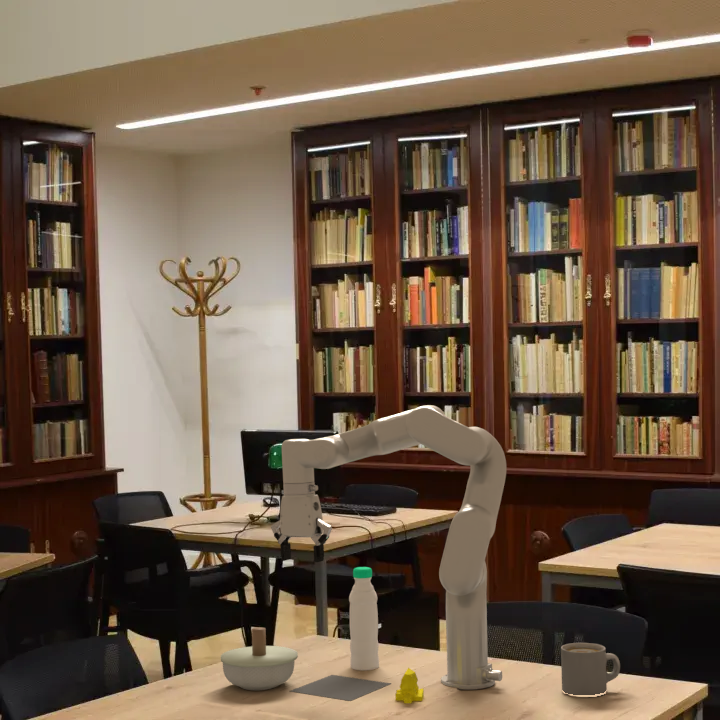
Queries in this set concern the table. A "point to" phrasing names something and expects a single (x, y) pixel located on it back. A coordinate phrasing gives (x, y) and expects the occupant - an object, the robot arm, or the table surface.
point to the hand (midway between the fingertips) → (302, 560)
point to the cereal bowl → (258, 676)
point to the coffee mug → (586, 668)
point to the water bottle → (363, 621)
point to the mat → (340, 687)
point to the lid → (259, 653)
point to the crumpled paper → (409, 688)
